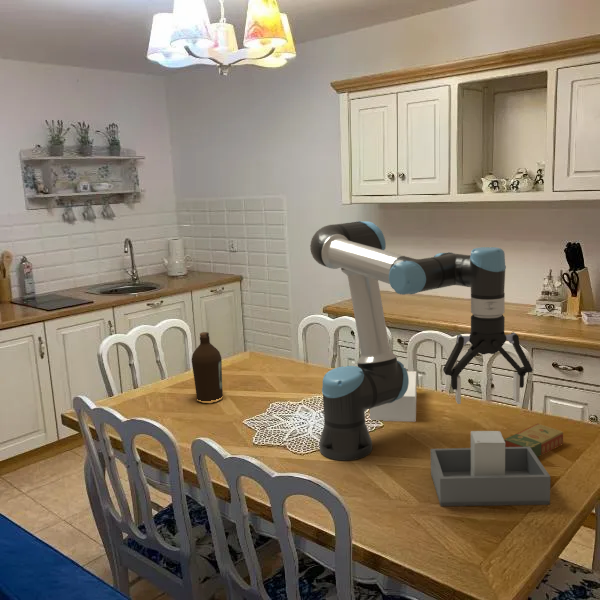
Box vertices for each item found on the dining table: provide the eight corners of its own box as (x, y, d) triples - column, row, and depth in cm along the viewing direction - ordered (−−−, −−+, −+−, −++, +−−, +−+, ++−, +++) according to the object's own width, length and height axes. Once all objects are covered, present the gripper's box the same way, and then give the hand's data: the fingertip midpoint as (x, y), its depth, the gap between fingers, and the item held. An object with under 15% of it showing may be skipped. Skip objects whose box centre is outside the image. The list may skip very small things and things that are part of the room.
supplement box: (505, 492, 148) (506, 443, 145) (473, 491, 149) (473, 442, 146) (500, 477, 155) (501, 430, 152) (470, 477, 156) (470, 430, 153)
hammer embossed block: (416, 394, 219) (415, 365, 217) (415, 422, 195) (415, 389, 193) (375, 394, 222) (374, 365, 220) (369, 421, 198) (368, 388, 196)
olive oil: (196, 406, 219) (189, 338, 214) (194, 396, 229) (188, 331, 224) (226, 402, 221) (220, 334, 216) (223, 392, 231) (217, 328, 226)
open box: (440, 506, 145) (440, 478, 144) (430, 473, 161) (430, 448, 159) (549, 504, 143) (550, 476, 142) (529, 471, 159) (529, 446, 157)
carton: (563, 445, 173) (564, 431, 173) (529, 463, 164) (529, 448, 164) (537, 436, 180) (537, 422, 179) (502, 452, 171) (502, 438, 170)
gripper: (435, 320, 141) (436, 408, 145) (548, 316, 139) (545, 405, 143) (430, 313, 148) (432, 396, 152) (537, 308, 146) (535, 394, 150)
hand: (487, 401), depth 148 cm, fingers open, 13 cm apart
